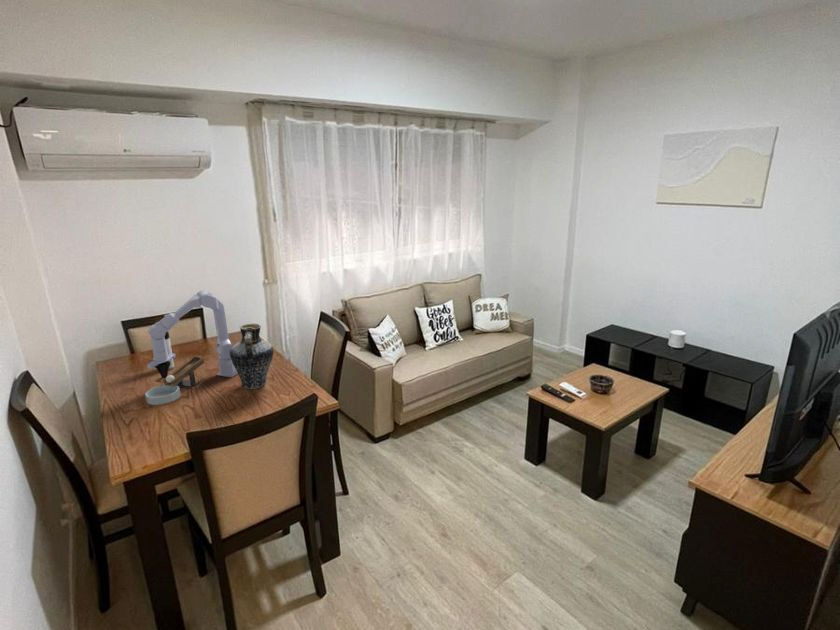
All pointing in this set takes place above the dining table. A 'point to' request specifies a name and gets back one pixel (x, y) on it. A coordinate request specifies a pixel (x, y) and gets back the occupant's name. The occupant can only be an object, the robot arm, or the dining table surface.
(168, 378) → the ball
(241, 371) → the jug
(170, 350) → the travel mug
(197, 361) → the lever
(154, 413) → the dining table surface
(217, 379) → the dining table surface
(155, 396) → the bowl
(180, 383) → the stand
